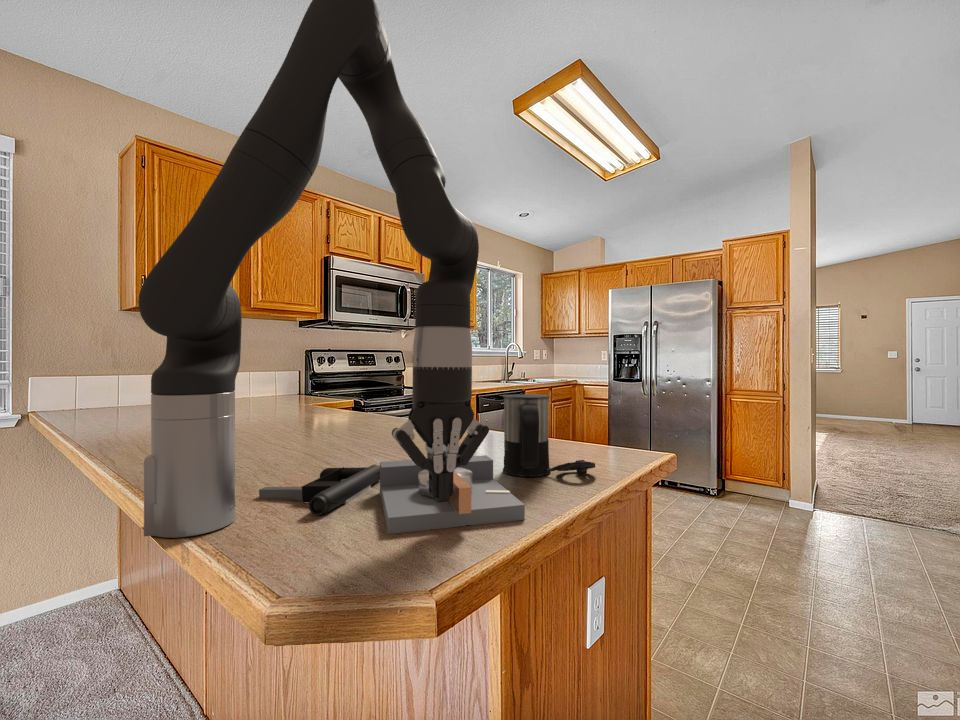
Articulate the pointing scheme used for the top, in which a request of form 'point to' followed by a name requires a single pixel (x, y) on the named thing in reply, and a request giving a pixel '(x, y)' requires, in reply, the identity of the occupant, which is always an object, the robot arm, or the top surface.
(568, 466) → the milk frother
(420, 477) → the dial
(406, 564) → the top surface
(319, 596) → the top surface
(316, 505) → the door handle
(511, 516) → the panel
